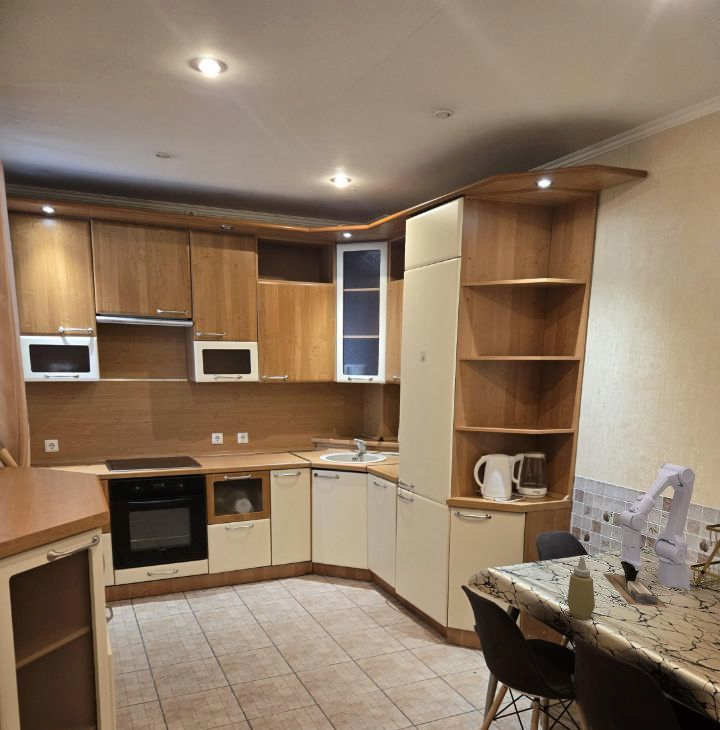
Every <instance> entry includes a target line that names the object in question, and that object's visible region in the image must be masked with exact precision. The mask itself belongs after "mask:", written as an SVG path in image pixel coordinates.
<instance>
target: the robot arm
mask: <svg viewBox="0 0 720 730" xmlns="http://www.w3.org/2000/svg"><path fill="white" fill-rule="evenodd" d="M695 480H696V474H695V472H694V470H692V468H691V467H689V466H683V465H678V464H674V463H670V462H663V463H662V464H661V465H660V467H659V468H658V469H657V477H656V478H655V479H654V481H653V482H652V484H651V486H649V488H648V490H647V491H646V493H645V494H639V495H638V496H637V497H636V500H635V501H634V502H633V503H632V504H631V505H630V507H629V508H628V509H627V510H624V511H622V512H621V513H620V515H619V517H618V521H619V523H620V526H621V527H620V528H621V530H622V541H621V545H622V546H621V550H620V551H619V555H618V559H619V560H621V561H620V564H621V566H622V570H623V572H624V573H623V574H624V576H625V578H626V582H627V584H628V581H634V582H635V580H636V577H637V578H638V574H639V572H643V564H642V561H641V537H642V536H641V535H642V533H641V530H642V529H643V528H644V527H645V526H646V521H647V518H648V516H649V514H650V513H651V512H652V511H653V509H654V508H655V507H656V503H655V501H656V500H657V499H658V497H659V496H661V495H662V493H663V492H664V491H665V490H666V489H667V488H668V487H670V486H671V487H672V489H673V491H674V492H673V495H672V500H671V505H670V509H669V513H668V517H667V522H666V526H665V530H664V532H662V533H660V534H658V536H657V539H656V541H655V542H654V543H653V552H654V553H655V555H656V558H657V559H658V569H657V570H658V572H657V573H658V574H657V582H658V583H659V584H661V585H663V586H665V587H669V588H683V589H684V588H685V589H686V590H687V591H691V588H690V587H691V570H690V566H689V565H688V563H687V562H686V561H687V559H688V557H689V556H688V547H689V545H688V543H687V542H686V541H685V539H684V537H683V534H684V531H685V527H686V522H687V518H688V517H687V516H688V513H689V509H690V504H691V501H692V495H693V491H694V490H693V489H694V484H695Z"/></svg>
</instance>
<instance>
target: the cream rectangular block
mask: <svg viewBox="0 0 720 730" xmlns="http://www.w3.org/2000/svg"><path fill="white" fill-rule="evenodd" d="M646 587H647V586H646ZM646 587H644V586H643V585H642V584H641V583H640V582H634V581H628V591H629V592H630V593H631V590H633V591H634V592H635V593H636V594H637V595H646V596H652V593H651V592H650V591H651V590H650V589H649V588H648V587H647V588H648V589H649V590H650V591H649V590H648V589H647V588H646Z"/></svg>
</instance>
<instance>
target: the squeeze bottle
mask: <svg viewBox="0 0 720 730" xmlns="http://www.w3.org/2000/svg"><path fill="white" fill-rule="evenodd" d="M579 557H580V558H579V560H578V564H577V566H574V568H573V573H571V574H570V577H569V583H568V584H569V585H568V590H567V591H568V592H567V598H566V601H567V606H568V609H569V612H570V615H572V616H573V617H575V618H578V619H583V620H587V619H586V618H589V619H590V618H591V617H592V614H593V613H594V609H595V607H596V603H595V602H596V601H595V590H594V589H595V588H594V579H593V578H592V577H591V573H590V572H591V571H590V569H589V568H587V566H586V565H587V564H586V560H585V557H584V556H579Z"/></svg>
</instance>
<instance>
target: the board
mask: <svg viewBox="0 0 720 730" xmlns="http://www.w3.org/2000/svg"><path fill="white" fill-rule="evenodd" d="M602 575H603V576H604V577H605V579H607V581H608V582H609V583H610V584H611V585H612V587H613V588H614V589H615V590H616V591H617V592H618V593H619V594H620V596H621V597H622V598H623V599H624V600H625V601H626V603H627V604H629V605H636V606H643V607H644V606H645V607H655V608H669V607H668V606H667V605H666V604H665V603H664V602H663V601H662V600H661V599H660V598H659V597H658V596H657V595H656V594H655V593H654V592H653V591H652V590H650V589H649V587H647V586H646V585H645V583H643V582H642V580H640V579H639V578H638V576H637V577H636V580H635V582H640V583H641V584H642V585H643V586H644V587H646V588H647V589H648V590H649V591H650V592H651V593H652V596H646V595H637V594H636V593H635V592H634V591H633V590H631V593H630V592H629V591H628V584H627V582H626V578H625V574H624V575H622V574H610V573H602Z"/></svg>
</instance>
